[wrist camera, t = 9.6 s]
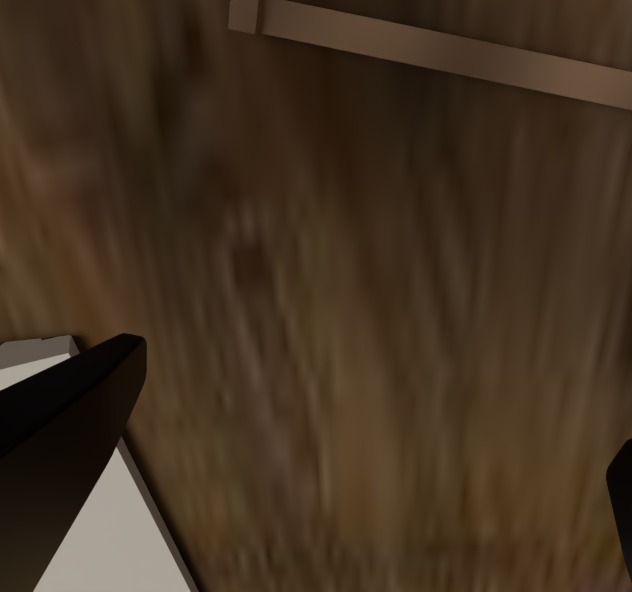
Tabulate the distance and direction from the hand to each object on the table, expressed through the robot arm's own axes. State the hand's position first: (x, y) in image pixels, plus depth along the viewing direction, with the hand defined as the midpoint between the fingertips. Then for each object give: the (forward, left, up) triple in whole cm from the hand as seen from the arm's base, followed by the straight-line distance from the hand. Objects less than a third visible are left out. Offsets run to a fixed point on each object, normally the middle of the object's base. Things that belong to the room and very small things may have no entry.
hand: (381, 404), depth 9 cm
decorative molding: (+11, +28, -13) cm, 33 cm away
